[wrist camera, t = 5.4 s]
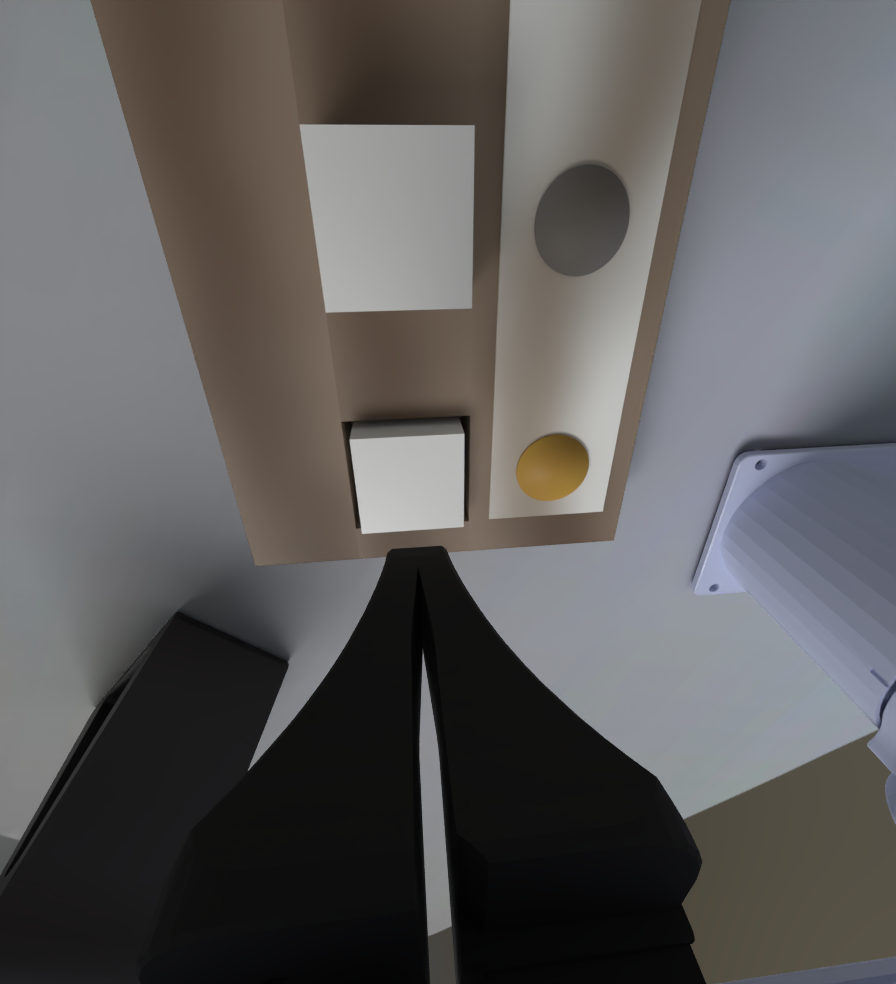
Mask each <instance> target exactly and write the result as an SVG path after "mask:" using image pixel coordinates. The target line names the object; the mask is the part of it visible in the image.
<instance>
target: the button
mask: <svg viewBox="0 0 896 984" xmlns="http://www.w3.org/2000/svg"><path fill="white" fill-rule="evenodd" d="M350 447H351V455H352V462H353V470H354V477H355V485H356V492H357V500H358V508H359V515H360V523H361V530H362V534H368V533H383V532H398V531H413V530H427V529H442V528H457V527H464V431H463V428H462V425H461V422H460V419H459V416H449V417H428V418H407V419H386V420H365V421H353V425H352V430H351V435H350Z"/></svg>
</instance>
